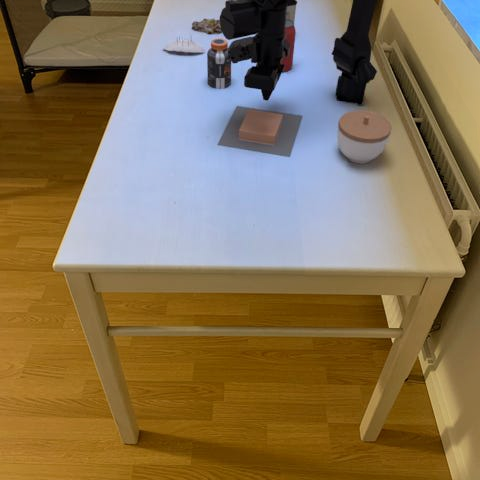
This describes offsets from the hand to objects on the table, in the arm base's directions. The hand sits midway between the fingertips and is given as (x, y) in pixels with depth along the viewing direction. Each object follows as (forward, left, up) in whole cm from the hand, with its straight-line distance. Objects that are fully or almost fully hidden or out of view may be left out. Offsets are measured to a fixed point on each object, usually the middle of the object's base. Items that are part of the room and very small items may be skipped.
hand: (266, 99), depth 113 cm
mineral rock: (+27, -47, -7) cm, 54 cm away
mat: (0, +3, -6) cm, 7 cm away
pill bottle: (+15, -15, -6) cm, 22 cm away
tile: (0, 0, -4) cm, 4 cm away
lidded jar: (-22, +6, -6) cm, 24 cm away
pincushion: (+30, -30, -7) cm, 43 cm away
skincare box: (+5, -48, -6) cm, 48 cm away
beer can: (+2, -29, -6) cm, 29 cm away
